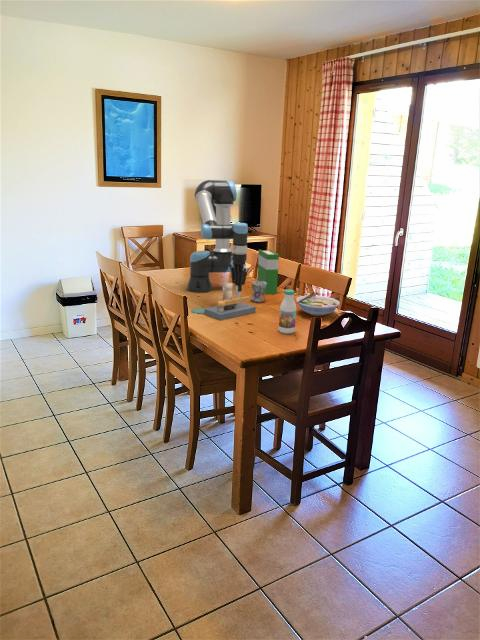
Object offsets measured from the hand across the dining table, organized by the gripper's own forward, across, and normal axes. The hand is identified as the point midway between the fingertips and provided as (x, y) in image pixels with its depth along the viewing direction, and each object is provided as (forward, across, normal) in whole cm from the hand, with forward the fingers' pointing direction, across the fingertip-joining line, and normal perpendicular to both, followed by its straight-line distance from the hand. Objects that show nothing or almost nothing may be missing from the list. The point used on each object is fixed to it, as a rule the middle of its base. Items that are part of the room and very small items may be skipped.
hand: (237, 296), depth 269 cm
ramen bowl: (+7, +32, +28) cm, 43 cm away
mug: (+7, -6, +21) cm, 23 cm away
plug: (+7, +3, -10) cm, 12 cm away
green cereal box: (+7, -20, +42) cm, 47 cm away
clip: (+1, +6, -8) cm, 11 cm away
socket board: (+7, +4, -9) cm, 12 cm away
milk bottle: (+7, +42, -6) cm, 43 cm away
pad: (+7, -7, -20) cm, 22 cm away
